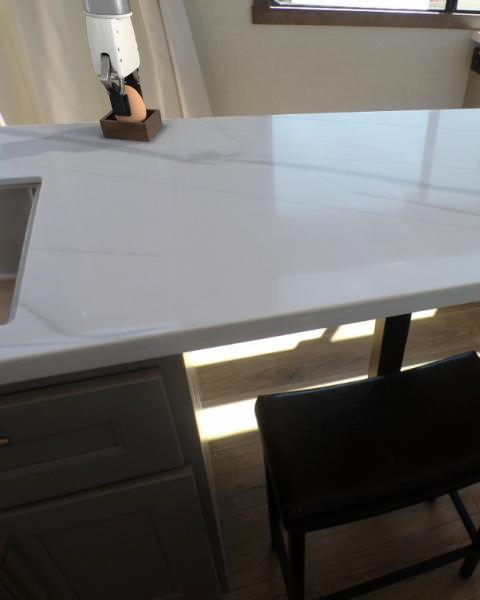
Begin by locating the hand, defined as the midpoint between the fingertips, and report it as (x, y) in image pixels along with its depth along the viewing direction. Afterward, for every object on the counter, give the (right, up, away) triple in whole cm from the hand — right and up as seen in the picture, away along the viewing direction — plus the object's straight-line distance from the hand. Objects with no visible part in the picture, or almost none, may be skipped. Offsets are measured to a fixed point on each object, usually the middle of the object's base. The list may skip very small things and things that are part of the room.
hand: (129, 108), depth 101 cm
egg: (0, -3, +3) cm, 4 cm away
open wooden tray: (0, -4, +3) cm, 5 cm away
